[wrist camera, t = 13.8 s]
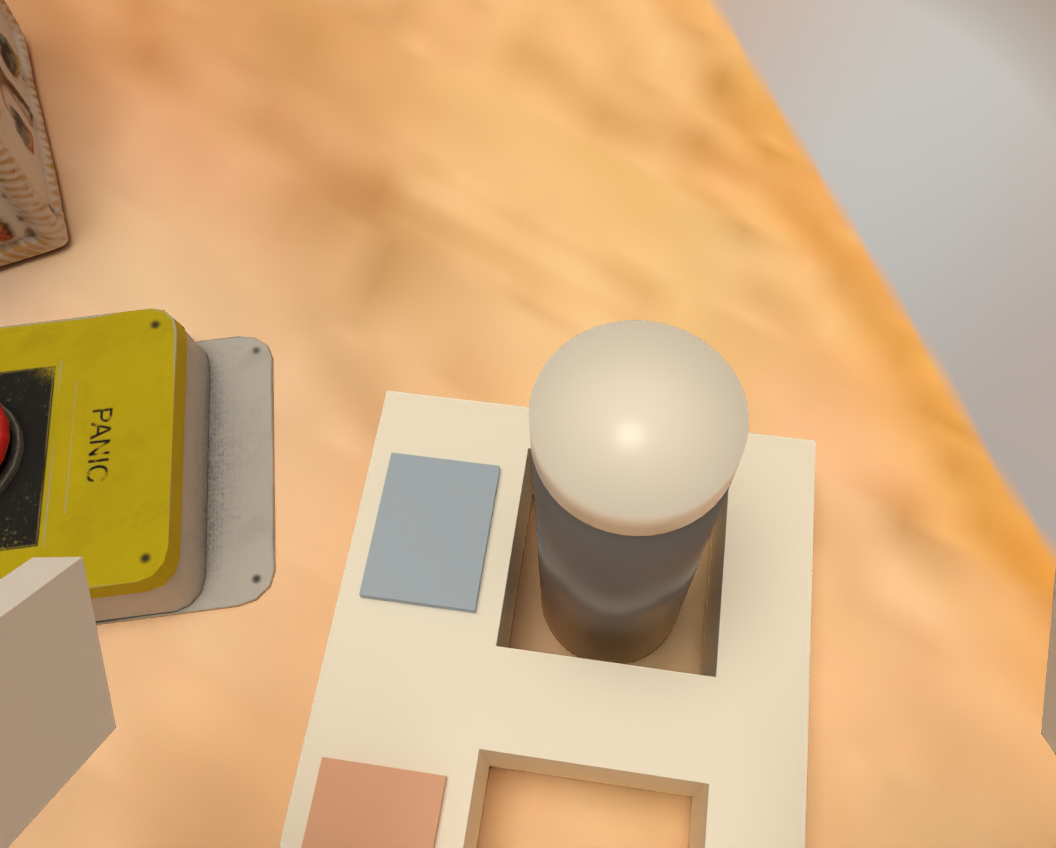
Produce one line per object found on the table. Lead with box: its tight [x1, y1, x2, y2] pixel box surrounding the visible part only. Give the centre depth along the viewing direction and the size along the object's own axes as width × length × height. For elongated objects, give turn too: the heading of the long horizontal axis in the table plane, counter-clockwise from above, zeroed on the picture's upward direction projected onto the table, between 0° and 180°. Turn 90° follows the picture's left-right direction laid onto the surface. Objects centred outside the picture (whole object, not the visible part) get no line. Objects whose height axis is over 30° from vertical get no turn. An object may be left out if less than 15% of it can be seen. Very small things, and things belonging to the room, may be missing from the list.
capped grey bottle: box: [529, 320, 749, 664], centre depth 23 cm, size 4×4×12 cm
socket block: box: [279, 391, 816, 848], centre depth 25 cm, size 12×16×4 cm
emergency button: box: [0, 309, 275, 625], centre depth 29 cm, size 9×4×15 cm
